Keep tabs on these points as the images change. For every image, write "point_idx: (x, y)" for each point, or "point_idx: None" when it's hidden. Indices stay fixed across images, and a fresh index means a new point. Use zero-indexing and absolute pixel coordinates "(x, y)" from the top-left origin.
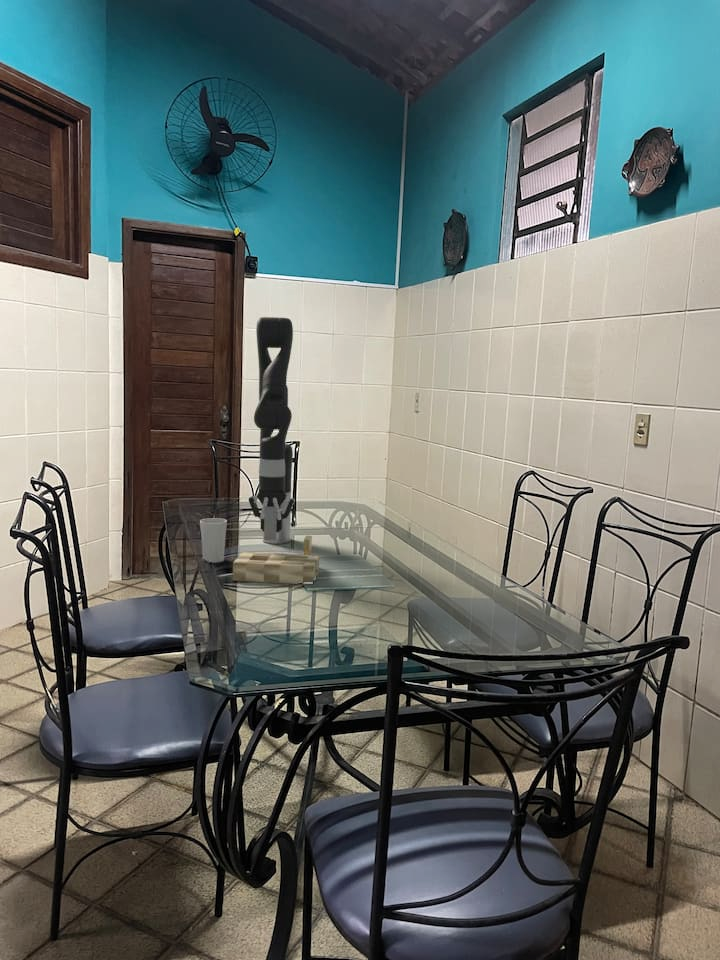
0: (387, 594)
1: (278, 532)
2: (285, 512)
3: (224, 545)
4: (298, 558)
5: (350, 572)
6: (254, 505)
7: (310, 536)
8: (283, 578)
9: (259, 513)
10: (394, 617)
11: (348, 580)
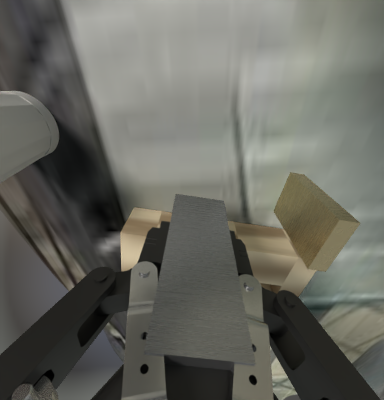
0: (370, 321)
1: (225, 213)
2: (278, 352)
3: (28, 144)
4: (263, 280)
5: (376, 229)
6: (62, 378)
7: (349, 232)
8: None
9: (119, 311)
10: None
11: (343, 272)
